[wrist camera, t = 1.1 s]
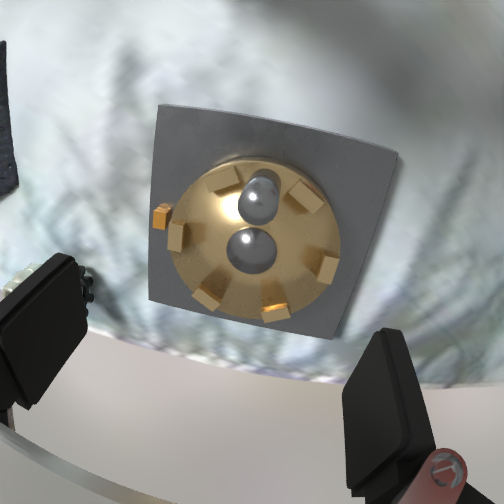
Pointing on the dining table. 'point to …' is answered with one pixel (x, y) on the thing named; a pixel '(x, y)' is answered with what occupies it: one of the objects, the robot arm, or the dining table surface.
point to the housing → (279, 148)
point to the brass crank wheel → (255, 239)
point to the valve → (23, 274)
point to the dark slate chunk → (5, 132)
